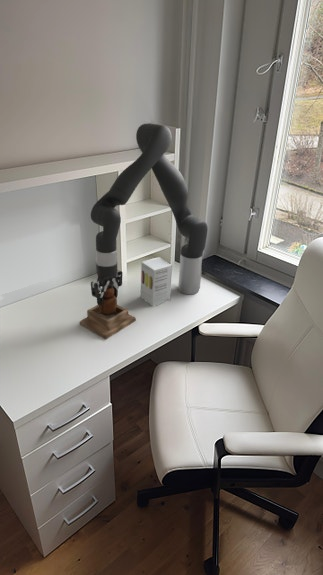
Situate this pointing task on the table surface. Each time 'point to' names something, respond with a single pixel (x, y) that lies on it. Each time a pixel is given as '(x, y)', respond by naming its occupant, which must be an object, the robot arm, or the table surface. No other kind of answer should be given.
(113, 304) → the wooden figurine
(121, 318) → the holder
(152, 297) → the supplement box
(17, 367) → the table surface
